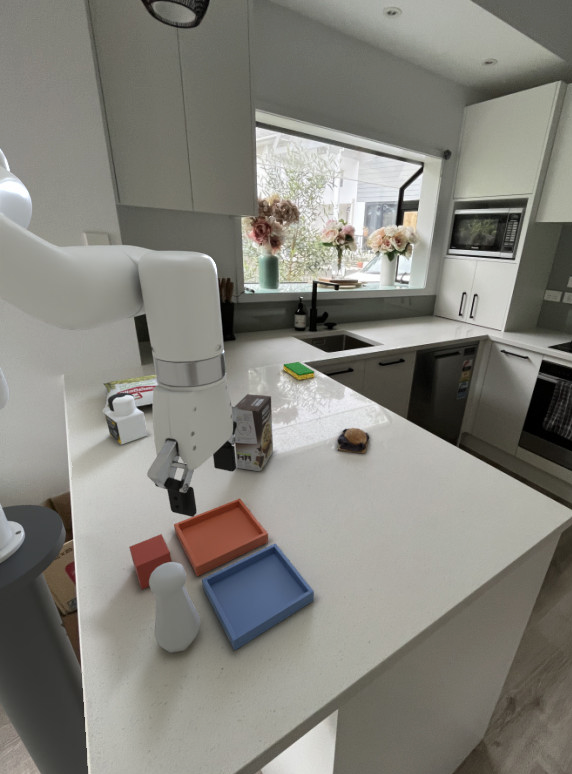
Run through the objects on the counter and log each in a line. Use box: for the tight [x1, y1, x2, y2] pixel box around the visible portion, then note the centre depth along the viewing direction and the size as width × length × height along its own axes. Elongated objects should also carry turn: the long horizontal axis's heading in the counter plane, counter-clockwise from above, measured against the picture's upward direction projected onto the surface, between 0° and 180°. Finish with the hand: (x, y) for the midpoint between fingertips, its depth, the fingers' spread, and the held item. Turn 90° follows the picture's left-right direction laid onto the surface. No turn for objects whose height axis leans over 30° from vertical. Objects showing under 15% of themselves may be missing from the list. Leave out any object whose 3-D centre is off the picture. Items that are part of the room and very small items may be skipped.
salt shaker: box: [149, 561, 201, 654], centre depth 50 cm, size 6×6×13 cm
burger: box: [337, 427, 370, 455], centre depth 103 cm, size 11×8×4 cm
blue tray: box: [201, 543, 315, 651], centre depth 59 cm, size 13×12×2 cm
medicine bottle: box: [104, 393, 148, 445], centre depth 100 cm, size 7×7×12 cm
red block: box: [128, 533, 173, 590], centre depth 62 cm, size 5×5×5 cm
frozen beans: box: [102, 374, 158, 414], centre depth 123 cm, size 21×6×25 cm
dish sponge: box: [282, 361, 315, 381], centre depth 152 cm, size 7×14×2 cm, turn 33°
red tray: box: [173, 497, 269, 577], centre depth 70 cm, size 13×12×2 cm
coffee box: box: [233, 393, 274, 472], centre depth 91 cm, size 9×6×16 cm
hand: (206, 489), depth 50 cm, fingers open, 9 cm apart
